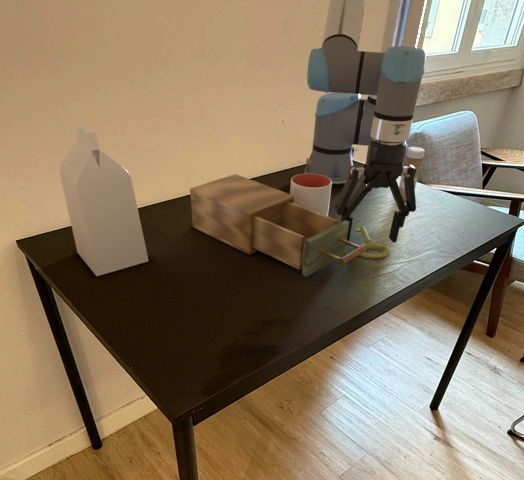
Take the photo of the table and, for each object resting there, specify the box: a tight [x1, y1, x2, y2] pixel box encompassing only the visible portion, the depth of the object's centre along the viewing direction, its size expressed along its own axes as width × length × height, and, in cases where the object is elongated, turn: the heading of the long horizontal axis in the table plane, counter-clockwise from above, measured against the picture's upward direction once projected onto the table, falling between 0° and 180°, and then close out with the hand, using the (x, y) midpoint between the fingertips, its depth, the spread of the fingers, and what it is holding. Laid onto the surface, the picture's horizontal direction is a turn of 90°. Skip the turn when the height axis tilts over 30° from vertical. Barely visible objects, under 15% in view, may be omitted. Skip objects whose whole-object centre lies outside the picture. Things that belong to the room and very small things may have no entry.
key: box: [353, 226, 389, 259], centre depth 105 cm, size 7×12×2 cm, turn 23°
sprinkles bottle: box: [398, 146, 425, 202], centre depth 124 cm, size 5×5×13 cm
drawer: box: [252, 201, 368, 278], centre depth 97 cm, size 25×13×8 cm, turn 47°
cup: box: [289, 173, 333, 217], centre depth 113 cm, size 10×10×10 cm
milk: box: [58, 124, 150, 277], centre depth 90 cm, size 12×12×26 cm
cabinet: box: [189, 173, 294, 256], centre depth 107 cm, size 20×15×10 cm
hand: (368, 241), depth 104 cm, fingers open, 11 cm apart
